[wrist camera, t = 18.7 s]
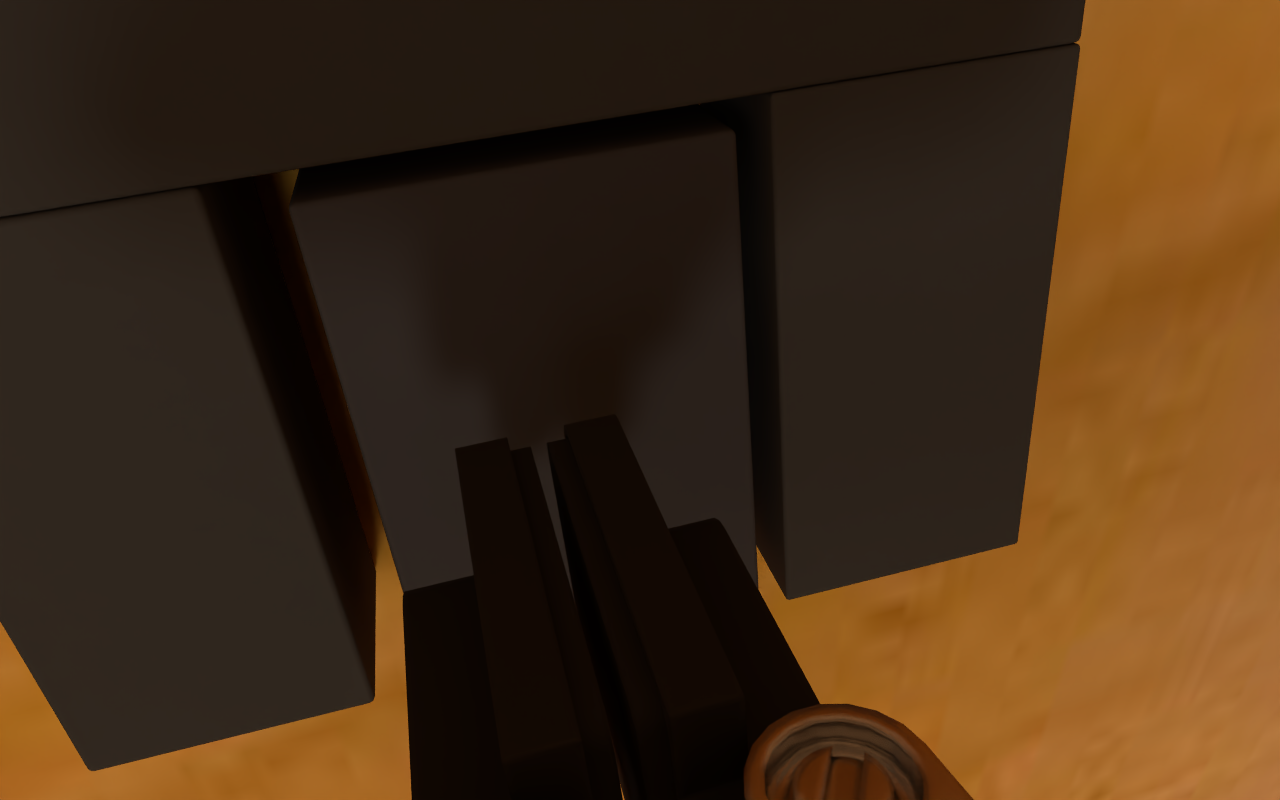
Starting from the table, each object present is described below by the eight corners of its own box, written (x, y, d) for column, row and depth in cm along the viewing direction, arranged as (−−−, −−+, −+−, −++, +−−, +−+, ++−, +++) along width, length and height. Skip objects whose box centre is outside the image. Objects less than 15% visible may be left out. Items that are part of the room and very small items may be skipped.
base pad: (976, -372, 12) (1144, -441, 9) (926, 446, 18) (1018, 544, 15) (-306, -260, 10) (-560, -309, 7) (135, 626, 16) (87, 775, 13)
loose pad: (669, 79, 13) (737, 129, 11) (702, 485, 17) (760, 594, 14) (305, 137, 13) (285, 204, 10) (420, 549, 16) (427, 677, 14)
